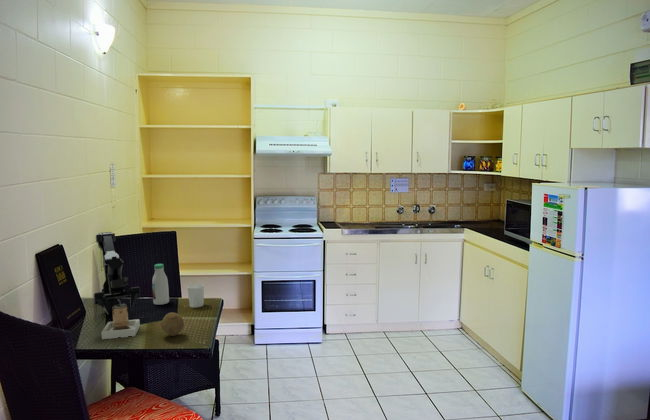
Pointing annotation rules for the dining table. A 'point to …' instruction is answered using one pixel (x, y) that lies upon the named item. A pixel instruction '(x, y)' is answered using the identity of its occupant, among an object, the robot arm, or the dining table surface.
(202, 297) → the white cup
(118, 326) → the spout can
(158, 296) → the milk bottle
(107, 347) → the dining table surface
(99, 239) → the robot arm
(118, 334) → the tray
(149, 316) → the dining table surface
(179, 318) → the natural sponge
